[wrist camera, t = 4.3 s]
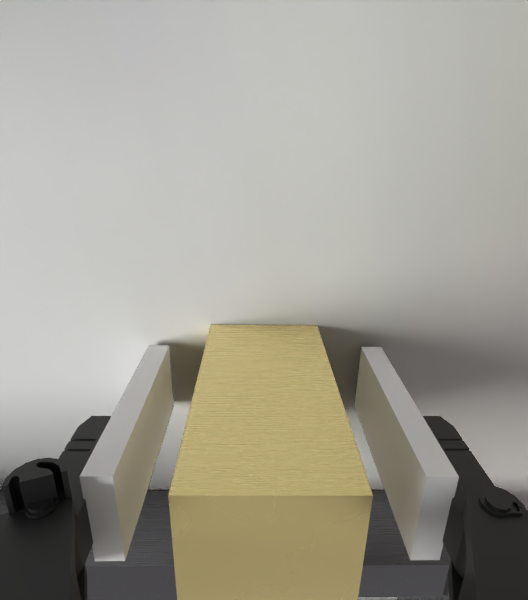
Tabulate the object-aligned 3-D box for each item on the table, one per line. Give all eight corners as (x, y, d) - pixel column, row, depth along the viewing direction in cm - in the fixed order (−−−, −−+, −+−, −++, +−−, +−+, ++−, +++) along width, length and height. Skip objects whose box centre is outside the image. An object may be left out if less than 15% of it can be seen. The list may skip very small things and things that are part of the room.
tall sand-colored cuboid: (210, 324, 16) (168, 496, 8) (317, 325, 16) (373, 495, 8) (213, 413, 17) (179, 629, 10) (311, 414, 17) (353, 627, 10)
